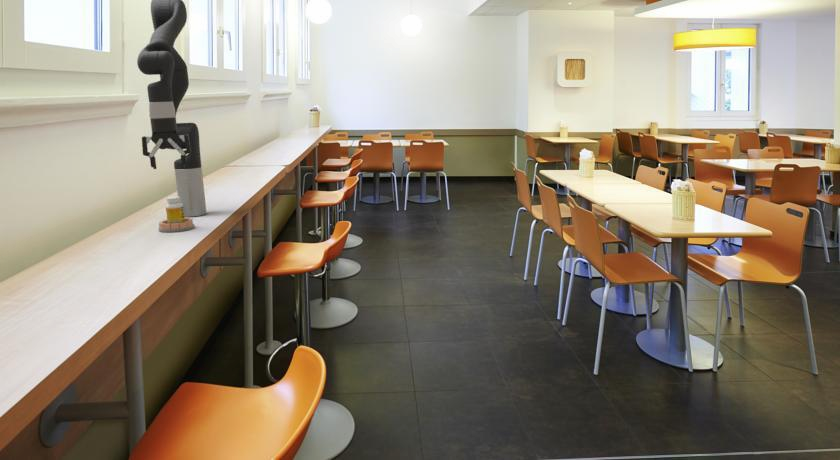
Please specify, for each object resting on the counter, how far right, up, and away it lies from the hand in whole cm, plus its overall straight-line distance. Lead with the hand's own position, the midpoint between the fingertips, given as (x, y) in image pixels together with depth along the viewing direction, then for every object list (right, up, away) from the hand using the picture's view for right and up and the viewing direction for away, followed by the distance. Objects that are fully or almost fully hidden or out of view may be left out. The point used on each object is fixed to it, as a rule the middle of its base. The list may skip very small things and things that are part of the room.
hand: (169, 167), depth 201 cm
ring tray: (+1, -20, +4) cm, 20 cm away
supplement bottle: (+1, -19, +4) cm, 19 cm away
